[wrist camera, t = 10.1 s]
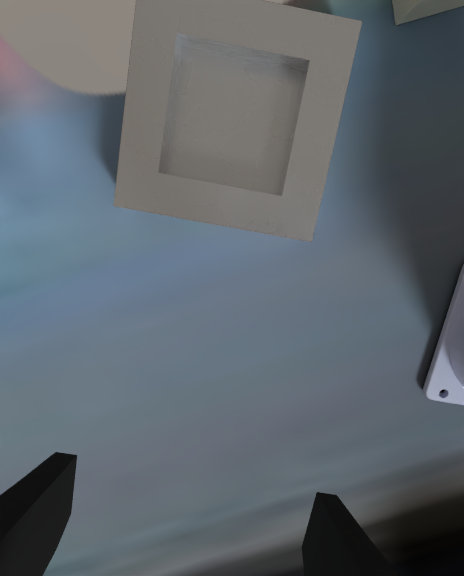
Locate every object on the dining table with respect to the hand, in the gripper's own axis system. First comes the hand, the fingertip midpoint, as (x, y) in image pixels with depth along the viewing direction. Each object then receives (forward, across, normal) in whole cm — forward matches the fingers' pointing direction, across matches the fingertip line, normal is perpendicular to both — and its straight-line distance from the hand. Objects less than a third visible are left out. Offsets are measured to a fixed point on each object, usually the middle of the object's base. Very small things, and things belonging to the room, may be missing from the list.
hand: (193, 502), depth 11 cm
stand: (+10, +1, -12) cm, 16 cm away
